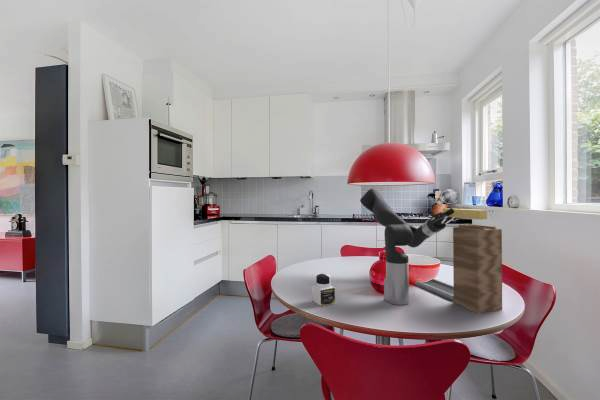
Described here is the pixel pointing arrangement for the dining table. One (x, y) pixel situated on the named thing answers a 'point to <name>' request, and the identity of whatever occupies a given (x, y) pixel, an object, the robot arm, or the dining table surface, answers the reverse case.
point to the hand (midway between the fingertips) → (456, 209)
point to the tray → (438, 288)
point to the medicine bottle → (323, 290)
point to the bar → (468, 213)
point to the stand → (477, 267)
